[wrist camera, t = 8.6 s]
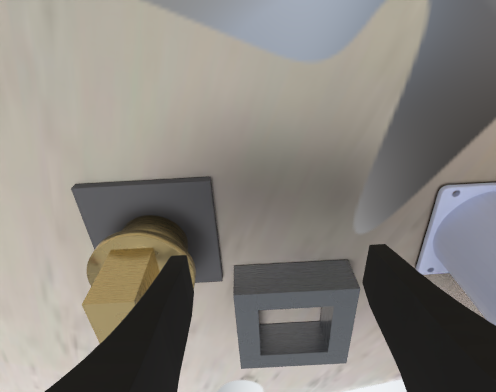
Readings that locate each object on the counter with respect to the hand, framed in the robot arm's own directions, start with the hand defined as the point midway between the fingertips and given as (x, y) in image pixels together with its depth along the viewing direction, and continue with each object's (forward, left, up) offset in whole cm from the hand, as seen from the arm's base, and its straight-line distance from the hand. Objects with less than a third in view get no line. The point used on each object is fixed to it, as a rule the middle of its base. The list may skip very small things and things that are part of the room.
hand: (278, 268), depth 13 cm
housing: (-2, +13, -9) cm, 16 cm away
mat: (+8, +5, -9) cm, 13 cm away
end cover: (+8, +5, -9) cm, 13 cm away
